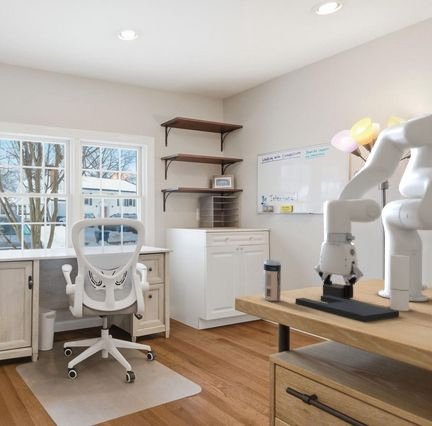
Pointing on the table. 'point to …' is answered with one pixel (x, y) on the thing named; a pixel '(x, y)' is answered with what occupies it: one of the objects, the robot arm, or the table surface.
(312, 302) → the dark blue flat slab
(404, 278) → the tube
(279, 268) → the beer can
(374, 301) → the table surface
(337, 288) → the black block
